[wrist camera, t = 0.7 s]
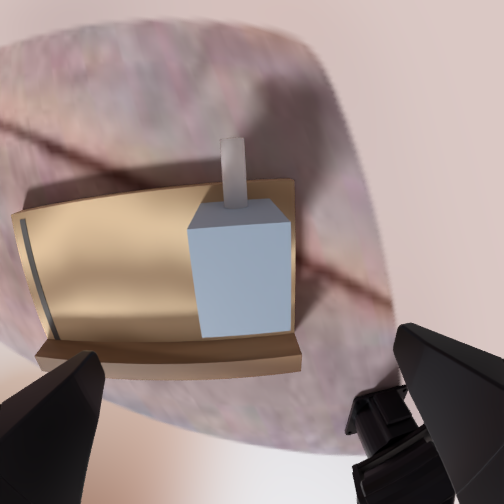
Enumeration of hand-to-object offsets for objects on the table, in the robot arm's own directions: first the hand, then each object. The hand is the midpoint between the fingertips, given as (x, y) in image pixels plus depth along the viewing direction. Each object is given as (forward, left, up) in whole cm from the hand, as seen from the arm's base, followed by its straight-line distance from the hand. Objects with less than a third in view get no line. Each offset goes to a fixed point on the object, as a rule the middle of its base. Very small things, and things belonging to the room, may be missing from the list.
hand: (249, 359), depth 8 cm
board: (-2, +6, -12) cm, 14 cm away
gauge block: (+2, 0, -11) cm, 11 cm away
